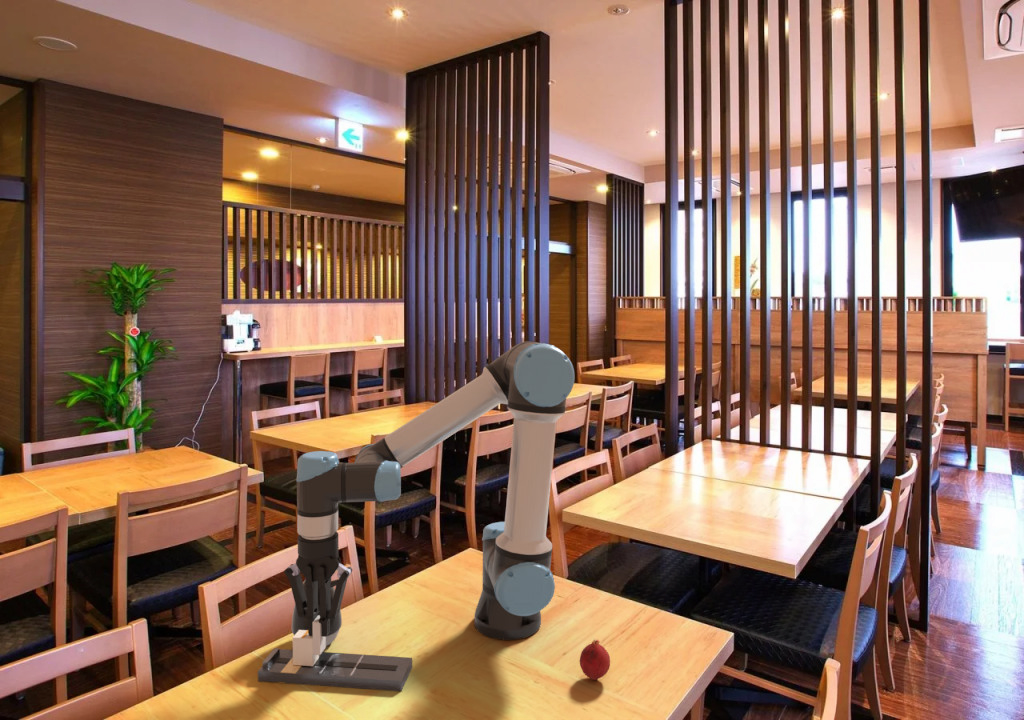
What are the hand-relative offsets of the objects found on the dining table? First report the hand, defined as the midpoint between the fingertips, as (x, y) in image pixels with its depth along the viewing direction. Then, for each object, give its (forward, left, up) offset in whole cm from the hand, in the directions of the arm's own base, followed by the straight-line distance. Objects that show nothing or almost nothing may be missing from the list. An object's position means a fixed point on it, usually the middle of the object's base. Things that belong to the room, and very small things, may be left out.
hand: (319, 650), depth 124 cm
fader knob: (+3, 0, -2) cm, 4 cm away
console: (-3, 0, -5) cm, 6 cm away
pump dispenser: (+5, -11, -5) cm, 13 cm away
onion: (-53, -4, -5) cm, 54 cm away
